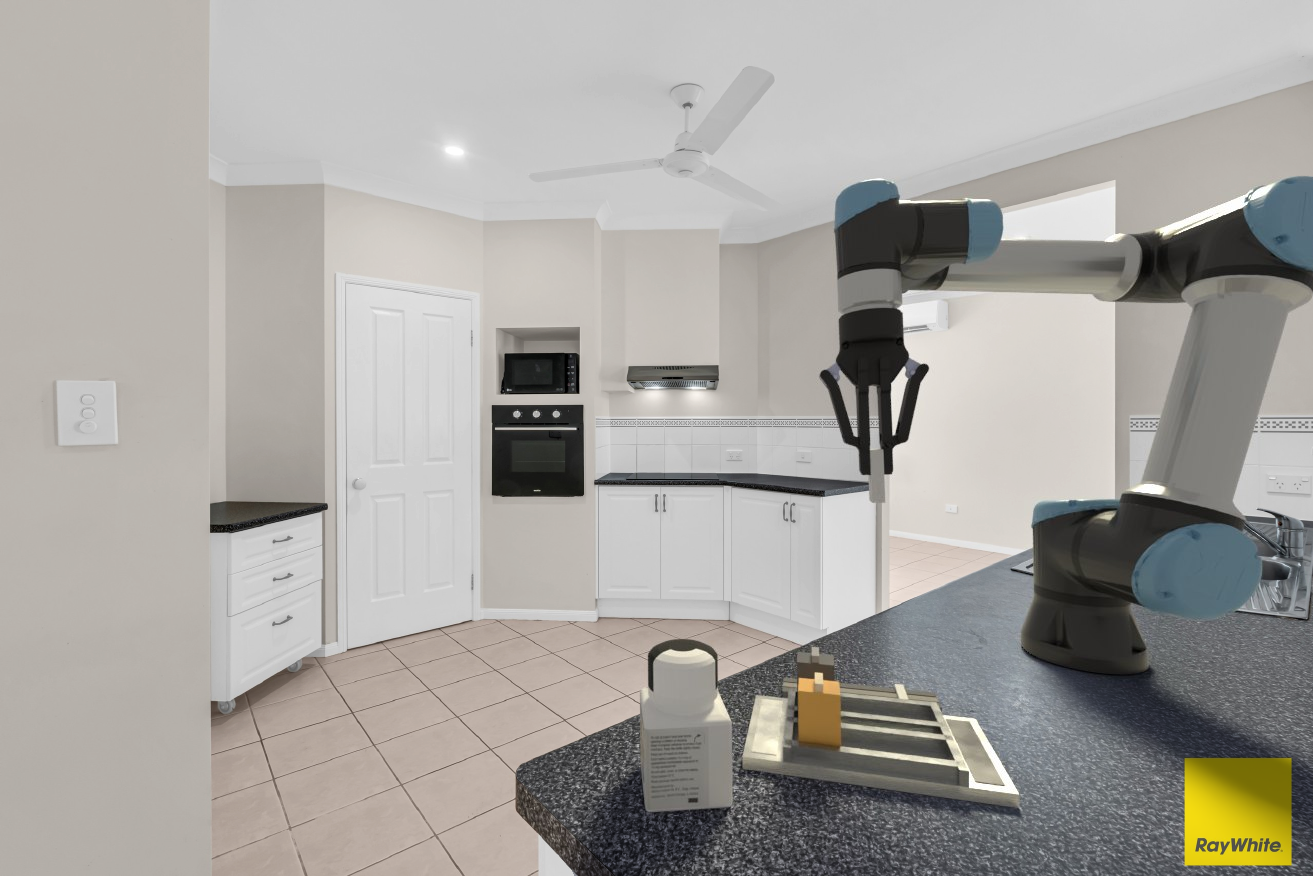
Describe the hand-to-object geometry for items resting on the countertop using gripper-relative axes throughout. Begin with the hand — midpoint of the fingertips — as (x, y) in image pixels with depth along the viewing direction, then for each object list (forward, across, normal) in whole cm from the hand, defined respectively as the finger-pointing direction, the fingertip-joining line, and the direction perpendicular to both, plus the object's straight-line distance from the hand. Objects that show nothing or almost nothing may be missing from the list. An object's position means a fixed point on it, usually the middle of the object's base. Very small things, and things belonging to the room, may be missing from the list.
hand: (877, 501), depth 71 cm
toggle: (+23, +9, +8) cm, 26 cm away
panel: (+24, +4, +12) cm, 28 cm away
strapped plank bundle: (+24, +3, +2) cm, 25 cm away
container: (+24, +21, +23) cm, 39 cm away
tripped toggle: (+23, +9, +16) cm, 29 cm away
